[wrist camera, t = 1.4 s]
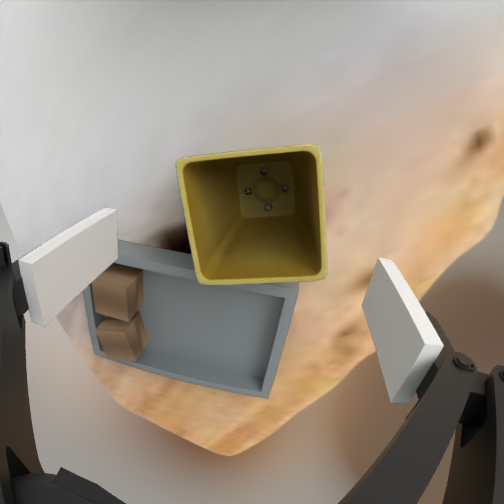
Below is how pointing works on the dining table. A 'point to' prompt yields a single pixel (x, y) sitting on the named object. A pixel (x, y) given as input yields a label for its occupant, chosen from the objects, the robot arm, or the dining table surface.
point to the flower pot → (255, 215)
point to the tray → (204, 324)
